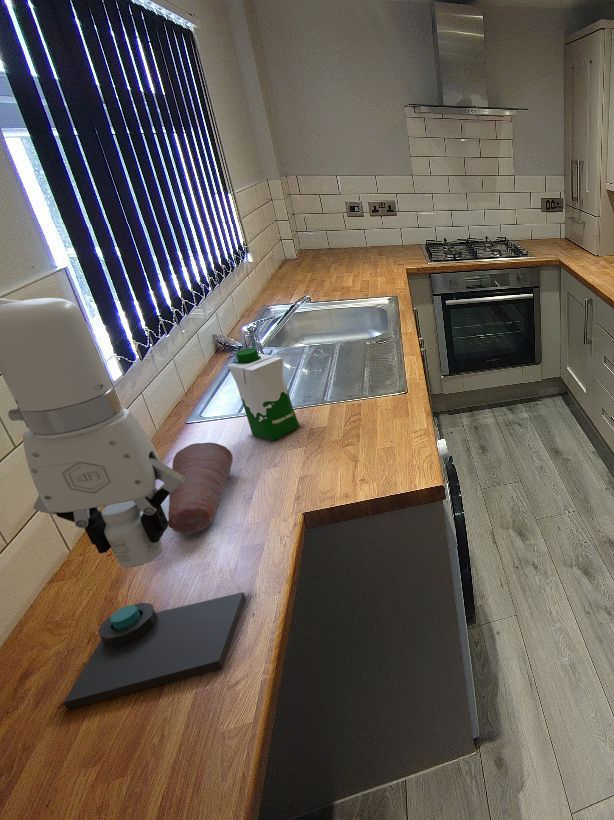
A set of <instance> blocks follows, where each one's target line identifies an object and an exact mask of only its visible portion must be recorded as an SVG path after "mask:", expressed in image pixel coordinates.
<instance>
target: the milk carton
mask: <svg viewBox="0 0 614 820" xmlns="http://www.w3.org/2000/svg"><path fill="white" fill-rule="evenodd" d="M235 356H236V360H237V361H234V362H232V363H230V364H227V367H228V369H229V372H230V373H231V376H232V377H233V380H234V382H235V384H236V388H237V390H238V393H239V396H240V400H241V403H242V406H243V408H244V412H245V414H246V418H247V421H248V425H249V429H250V432H251V436H254V437H258V438H262V439H265V440H269V441H273V442H275V441H277V440H279V439H280V438H282V437H284V436H287V435H288V434H289V433H291V432H293V431H295V430H297V429H298V428H300V427H301V426H300V423H299V420H298V417H297V415H296V412H295V409H294V407H293V403H292V400H291V396H290V393H289V389H288V386H287V382H286V379H285V374H284V358H283V357H280V356H276V355H271V354H265V353H259V352H258V350H257V349H256V348H245V349H241V350H239V351H237V352H236V353H235Z"/></svg>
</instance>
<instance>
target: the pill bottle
mask: <svg viewBox="0 0 614 820" xmlns="http://www.w3.org/2000/svg"><path fill="white" fill-rule="evenodd" d="M100 512H101V515H102V517H103V520H104V522H105V523H106V524H107V525H106V527H105V529H104V534H105V536H106V538H107V540H108V542H109V544H110V546H111V548H110V549H111V550H112V553H113V554H114V556H115V558H116V560H117V563H118V564H119V566H121V567H122V568H129V569H131V568H137V567H139V566H142V565H145V564H147V563H149V562H151V561H153V560H154V559H156V558H157V557H158V556H159V555H160V554H161V553H162V552H163V550H164V544H163V543H162V540H161V539H160V540H159V541H158V542H154V543H152V542H150V540H149V538H148V536H147V534H146V532H145V529H144V527H143V525H142V523H141V520H140V518H141V516H142V515H143V512H142V511H141V510H140V509H139V507H138V506H137V505H136V504H135V503H134V502H133V501H128V502H123V503H118V504H112V505H107V506H104V508H103V509H102V510H101V511H100Z"/></svg>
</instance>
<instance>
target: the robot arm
mask: <svg viewBox="0 0 614 820" xmlns="http://www.w3.org/2000/svg"><path fill="white" fill-rule="evenodd" d="M0 374H1V376H2V377H3V380H4V382H5V384H6V386H7V388H8V389H9V392H10V394H11V396H12V397H13V400H14V402H15V403H16V405H17V408H11V409H9V410H8V413H7V416H8V418H9V420H10V421H12V422H16V421H21V422H24V424H25V426H26V427H27V429H28V430H27V431H25V432H24V433H23V434H22V444H23V449H24V455H25V459H26V460H25V461H26V463H27V467H28V470H29V474H30V476H31V479H32V481H33V484H34V487H35V488H36V491H37V494H38V496H37V499H36V501H35V502H34V504H33V507H32V508H33V510H35V511H37V512H40V513H44V514H49V515H56V516H57V517H58V518H60V519H63V520H67V521H69V522H72V523H74V525H75V527H77V528H79V529H84V530H85V533H86V534H87V536H88V538H89V540H90V543H91V544H92V545H93V546H94V545H95V548H96V549H97V550H96V551H98V554H105V553H107V552H109V550H110V549H112V548H111V546H110V544H109V542H108V540H107V538H106V536H105V534H104V529H105V527H106V525H107V524H106V523H105V522H104V520H103V517H102V515H101V511H100V508H101V507H106V506H108V505H112V504H118V503H123V502H128V501H133V502H134V503H135V504H136V505H137V506H138V507H139V509H140V510H141V511H142V512H143V515H142V516H141V518H140V520H141V523H142V525H143V527H144V529H145V532H146V534H147V536H148V538H149V540H150V542H152V543H154V542H158V541H159V540H161V538H162V536H163V535H164V534H165V532H166V531H167V529H168V528H169V526H168V517H167V516H166V514H165V511H164V509H163V507H162V504H163V503H164V502H165V500H166V499H167V498H168V497H170V494H171V493H172V492H173V491H175V490H176V489H177V488H178V487H179V486H180V485H181V484H182V482H183V481H184V479H185V477H184V476H183V475H182V474H180V473H178V472H176V471H175V470H173V469H172V467H170V466H168V465H166V464H164V463H163V462H162V460H161V457H160V455H159V453H158V451H157V449H156V447H155V445H154V443H153V441H152V440H151V438H150V437H149V435H148V433H147V432H146V430H145V429H144V427H143V425H142V424H141V423H140V422H139V420H138V418H136V416H135V415H134V414H133V412H132V411H131V410H130V409H129V408H123V407H122V405H121V402H120V400H119V398H118V395H117V393H116V391H115V388H114V386H113V384H112V381H111V379H110V377H109V374H108V371H107V370H106V367H105V365H104V362H103V360H102V358H101V356H100V352H99V351H98V348H97V346H96V344H95V341H94V339H93V336H92V334H91V332H90V330H89V327H88V325H87V322H86V320H85V318H84V316H83V314H82V312H81V309H80V308H79V307H78V306H77V305H76V304H75V303H74V302H72V301H71V300H67V299H65V298H58V297H43V298H42V297H41V298H40V297H39V298H30V299H23V300H18V299H10V298H9V299H8V298H2V297H0ZM157 480H159V481H161V482H162V483H163V484H162V485H161V486H160V487H159V488H158V489H157V487H156V486H157V485H156V484H157V483H156V481H157Z"/></svg>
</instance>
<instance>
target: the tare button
mask: <svg viewBox="0 0 614 820" xmlns="http://www.w3.org/2000/svg"><path fill="white" fill-rule="evenodd" d="M111 615H112V616H111ZM111 615H110V616H111V617H110V616H109V617H110V621H111V623H112V625H113V627H114V629H116V630H122V629H126V628H128V627H130V626H131V625H133V624H135V623H136V622H137V621H138V620H139V619H140V617H141V615H140V613H139V611H138V609H137V607H136V606H134V604H130V605H126V606H123V607H121V608H119V609H116V611H115V612H113V614H111Z"/></svg>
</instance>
